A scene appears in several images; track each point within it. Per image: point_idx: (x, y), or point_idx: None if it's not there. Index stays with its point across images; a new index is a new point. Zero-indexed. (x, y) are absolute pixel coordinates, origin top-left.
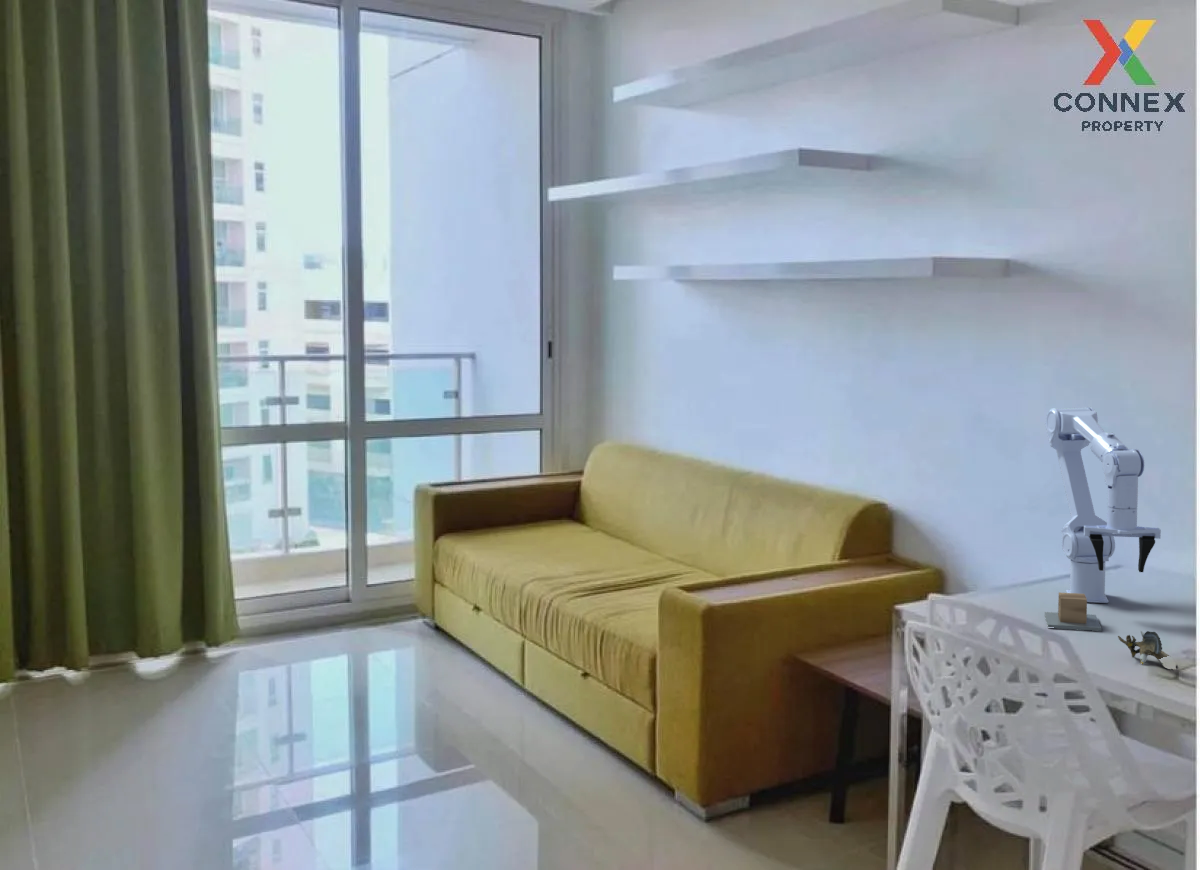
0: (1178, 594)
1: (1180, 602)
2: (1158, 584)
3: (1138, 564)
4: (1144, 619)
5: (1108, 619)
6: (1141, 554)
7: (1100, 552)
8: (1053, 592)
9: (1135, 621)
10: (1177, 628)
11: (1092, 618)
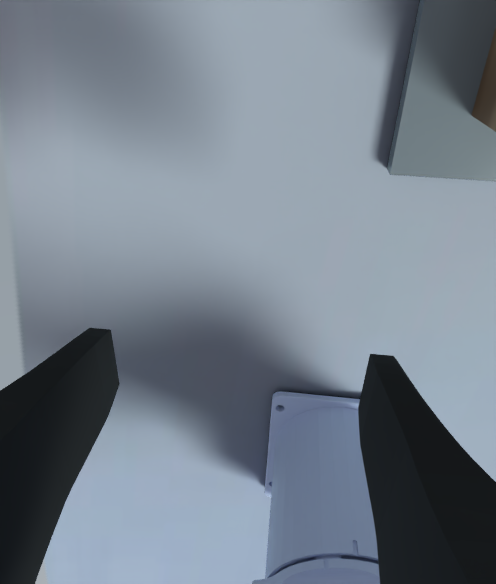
0: None
1: None
2: (103, 558)
3: (104, 415)
4: (166, 189)
5: (327, 163)
6: (28, 430)
7: (442, 470)
8: None
9: (208, 146)
10: (26, 40)
11: (433, 90)
